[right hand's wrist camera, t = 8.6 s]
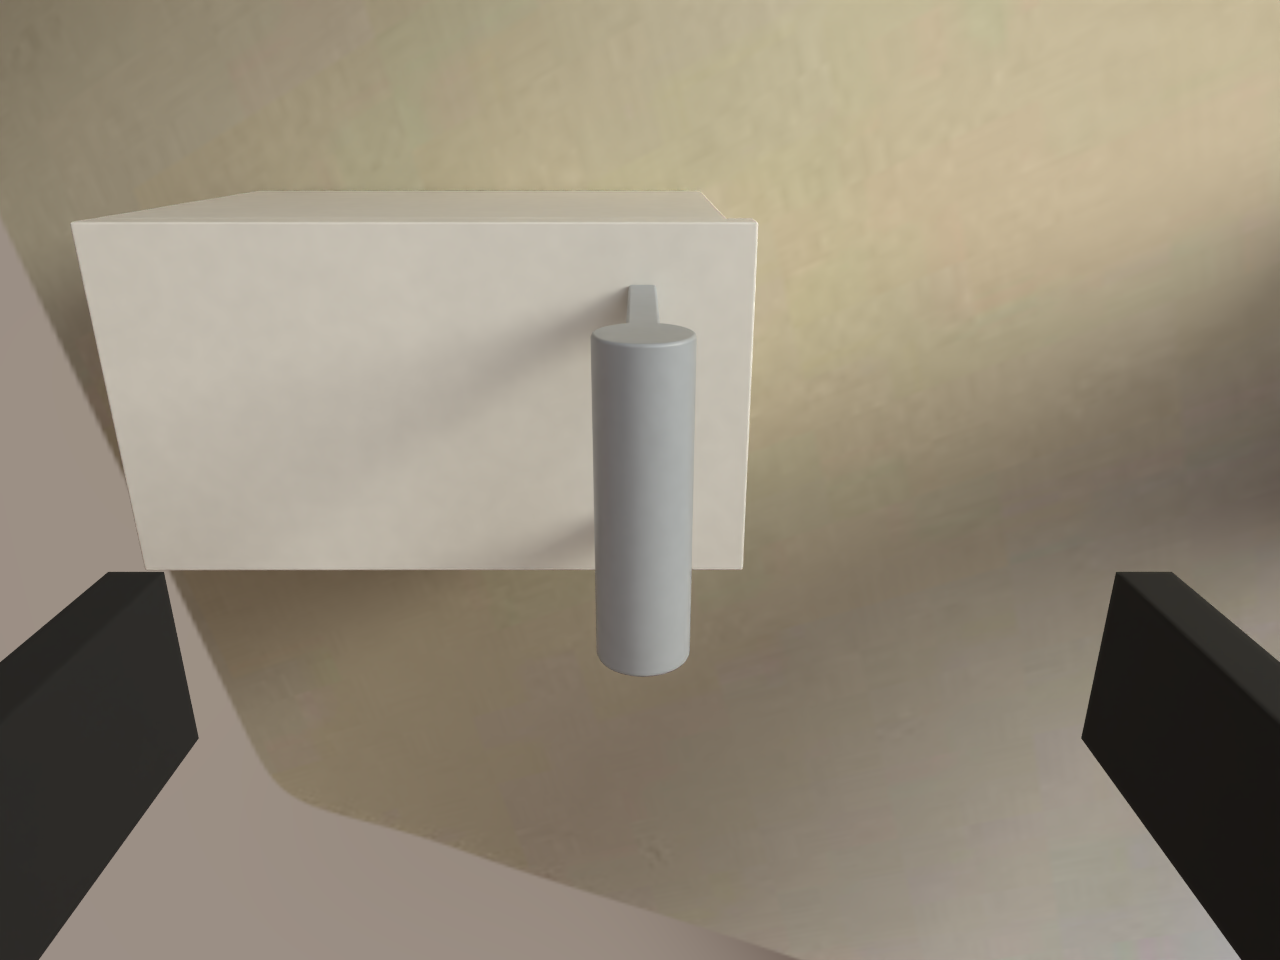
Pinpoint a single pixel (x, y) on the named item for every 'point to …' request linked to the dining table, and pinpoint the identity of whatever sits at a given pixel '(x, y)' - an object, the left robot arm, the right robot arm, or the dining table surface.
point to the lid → (437, 399)
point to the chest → (442, 205)
